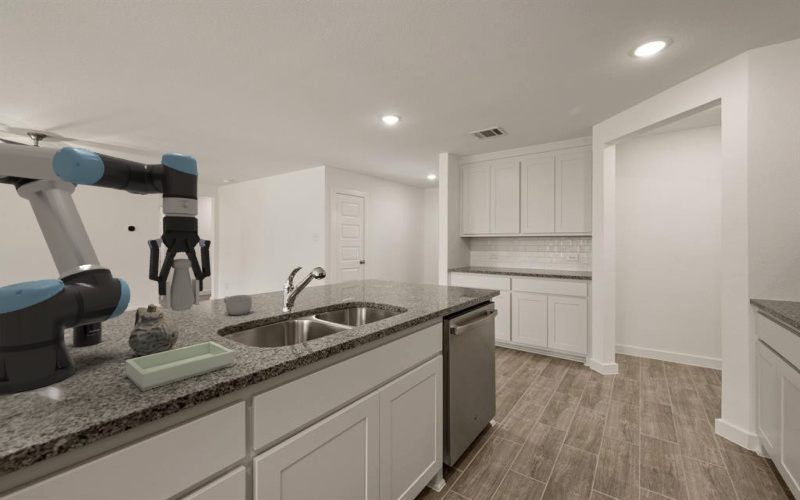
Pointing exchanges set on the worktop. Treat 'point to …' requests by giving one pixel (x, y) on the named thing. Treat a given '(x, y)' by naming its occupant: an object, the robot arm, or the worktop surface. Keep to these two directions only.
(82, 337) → the supplement bottle
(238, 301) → the teacup
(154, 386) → the tray
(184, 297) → the salt shaker
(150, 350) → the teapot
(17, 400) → the worktop surface
